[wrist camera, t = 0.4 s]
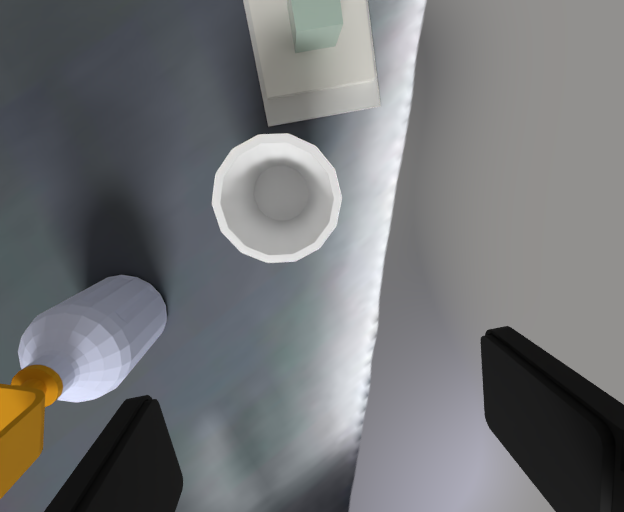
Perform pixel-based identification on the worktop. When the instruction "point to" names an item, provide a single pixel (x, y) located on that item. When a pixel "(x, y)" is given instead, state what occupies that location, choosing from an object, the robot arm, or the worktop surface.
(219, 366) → the worktop surface
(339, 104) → the mat
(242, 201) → the foam cup
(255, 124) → the worktop surface
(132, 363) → the soap bottle
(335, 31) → the lid
